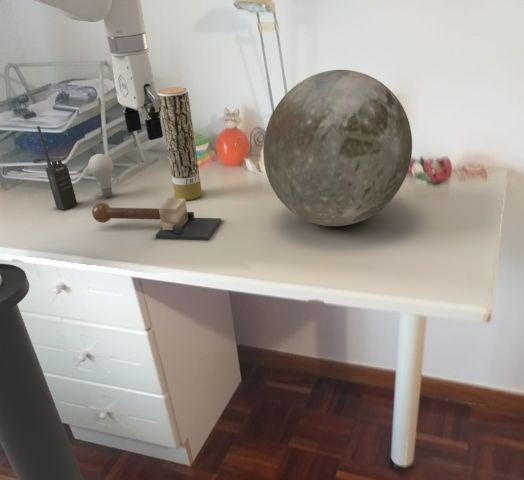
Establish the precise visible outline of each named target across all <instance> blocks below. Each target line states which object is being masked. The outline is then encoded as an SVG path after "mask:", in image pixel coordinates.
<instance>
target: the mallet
mask: <svg viewBox="0 0 524 480" xmlns="http://www.w3.org/2000/svg"><path fill="white" fill-rule="evenodd" d="M186 201H187V200H185V199H177V198H176V197H175V198H167V199H166V200H165V202H163V203H162V205H160V206H159V207H157V208H156V207H154V208H153V207H110V205H108V203H104V202H98V203H96V204H94V205H93V207H92V210H91V216H92V218H93V220H95V221H96V222H98V223H100V224H101V223H102V224H104V223H107V222H109V221H110V220H111V219H117V220H119V219H122V220H160V223H161V228H162V229H163V230H173V228H172V227H173V226H174V225H182V226H184V225H185V223H186V222H187V221H188V214H187V212H188V208H187V207H188V206H187V202H186Z"/></svg>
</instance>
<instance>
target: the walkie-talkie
mask: <svg viewBox="0 0 524 480" xmlns="http://www.w3.org/2000/svg"><path fill="white" fill-rule="evenodd" d="M36 128H37V132H38V136H39V140H40V144H41V148H42V151H43V154H44V157H45V161H46V166H47V167H46V168H45V172H46V176H47V179H48V182H49V186H50V189H51V193H52V196H53V201H54V203H55V207H56V209H57V210H58V209H59V210H63V211H66V210H69V209H70V208H73V207H75V206H77V205H78V200H77V197H76V194H75V190H74V186H73V183H72V178H71V175H70V171H69V168H68V166H67V164H65V163H63V161H62V159H61V158H60V159H57V160H56V159H52V160H50V156H49V152H48V149H47V146H46V143H45V140H44V137H43V133H42V131H41V127H40V125H36Z"/></svg>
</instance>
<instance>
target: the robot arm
mask: <svg viewBox="0 0 524 480" xmlns="http://www.w3.org/2000/svg"><path fill="white" fill-rule="evenodd" d="M34 1H35V2H38V3H41V4H44V5H46V6H50V7H53V8H54V9H57V10H58V11H59V12H60V13H61V14H62V15H64V16H65V17H66V18H69V19H71V20H73V21H81V22H89V23H97V22H100V21H102V20H103V23H104V28H105V32H106V38H107V42H108V47H109V53H110V56H111V62H112V63H111V65H112V66H111V67H112V73H113V81H114V89H115V94H116V98H117V102H118V103H119V104H120V105H121V106H122V107H121V109H122V112H123V114H124V120H125V125H126V130H127V132H128V133H133V132H138V131H141V130H142V122H141V118H140V112H139V110H140V109H141V110H142V112H143V115H144V117H145V118H146V119H144V122H145V129H146V134H147V139H148V140H149V141H153V140H158V139H161V138H163V137H164V134H163V127H162V120H161V118H162V114H161V108H160V97H159V96H158V92H157V88H156V83H155V77H154V72H153V69H152V64H151V61H150V57H149V54H148V53H149V52H150V49H149V43H148V38H147V37H148V36H147V33H146V31H147V30H146V26H145V25H146V24H145V21H144V14H143V13H144V12H143V8H142V1H141V0H34ZM1 284H2V277H1V275H0V286H1Z"/></svg>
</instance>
